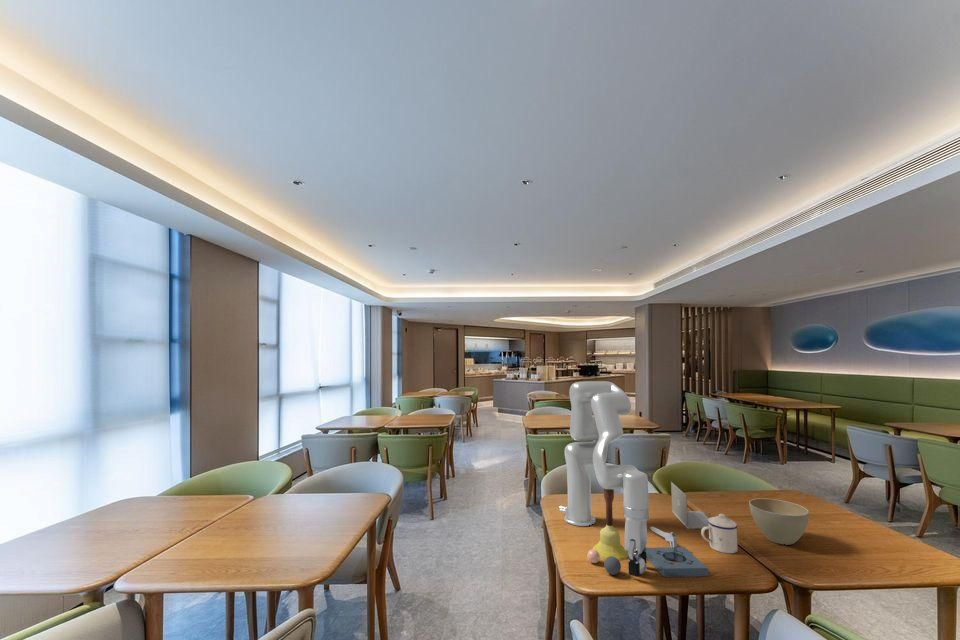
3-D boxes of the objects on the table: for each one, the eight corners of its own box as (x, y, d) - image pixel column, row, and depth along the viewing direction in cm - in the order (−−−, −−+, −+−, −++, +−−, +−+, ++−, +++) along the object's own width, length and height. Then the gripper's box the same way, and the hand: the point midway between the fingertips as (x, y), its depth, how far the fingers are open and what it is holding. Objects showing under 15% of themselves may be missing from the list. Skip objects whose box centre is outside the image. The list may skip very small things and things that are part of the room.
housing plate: (663, 577, 129) (663, 568, 129) (644, 555, 143) (644, 547, 143) (708, 576, 129) (707, 567, 130) (684, 554, 143) (684, 547, 144)
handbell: (628, 563, 137) (626, 485, 139) (590, 557, 142) (588, 481, 144) (629, 547, 149) (627, 475, 151) (593, 541, 153) (592, 472, 155)
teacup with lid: (728, 542, 153) (727, 509, 154) (744, 554, 144) (742, 519, 145) (695, 542, 153) (694, 509, 154) (709, 554, 144) (707, 519, 145)
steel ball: (627, 574, 130) (627, 557, 131) (631, 567, 135) (631, 551, 135) (644, 579, 128) (643, 562, 128) (648, 572, 132) (647, 555, 132)
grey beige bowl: (802, 534, 159) (800, 502, 160) (817, 555, 143) (815, 518, 144) (747, 526, 167) (745, 495, 168) (755, 545, 150) (753, 510, 151)
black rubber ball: (602, 574, 130) (601, 558, 131) (607, 568, 134) (606, 551, 135) (618, 579, 127) (618, 562, 128) (623, 572, 132) (622, 556, 132)
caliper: (677, 553, 145) (676, 534, 145) (674, 553, 145) (673, 534, 145) (652, 528, 165) (651, 512, 166) (649, 528, 165) (648, 512, 166)
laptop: (720, 530, 163) (719, 496, 164) (687, 529, 165) (685, 495, 166) (702, 513, 181) (700, 482, 182) (671, 512, 183) (670, 481, 184)
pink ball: (585, 563, 137) (585, 550, 138) (589, 558, 141) (589, 546, 141) (597, 566, 135) (597, 553, 136) (601, 561, 138) (601, 549, 139)
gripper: (631, 501, 142) (632, 555, 141) (616, 518, 128) (617, 578, 126) (654, 506, 138) (656, 561, 136) (641, 523, 123) (643, 585, 122)
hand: (637, 569), depth 131 cm, fingers open, 8 cm apart
